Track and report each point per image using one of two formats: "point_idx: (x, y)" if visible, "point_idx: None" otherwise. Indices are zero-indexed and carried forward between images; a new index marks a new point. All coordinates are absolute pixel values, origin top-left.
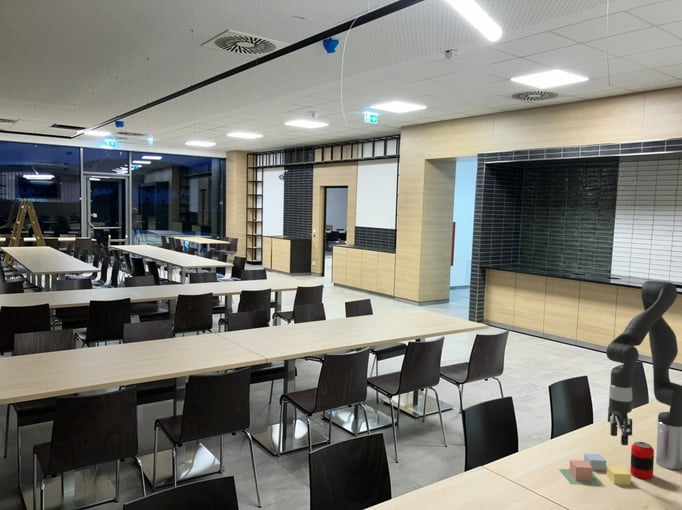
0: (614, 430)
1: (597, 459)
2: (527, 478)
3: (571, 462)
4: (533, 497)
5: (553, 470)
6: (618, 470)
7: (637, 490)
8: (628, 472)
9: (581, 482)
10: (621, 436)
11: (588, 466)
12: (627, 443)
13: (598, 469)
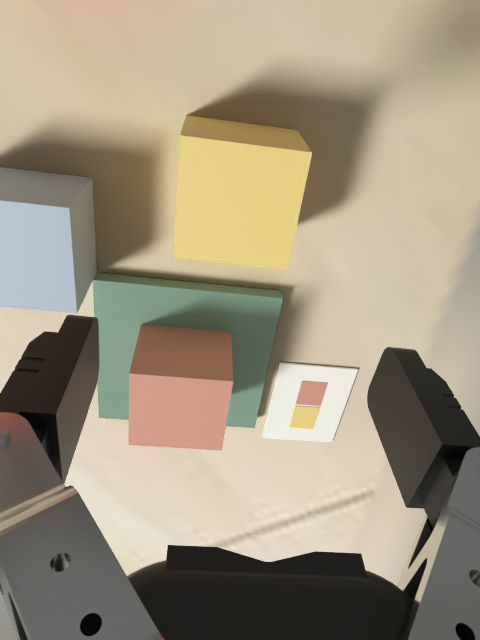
0: (78, 397)
1: (55, 261)
2: (175, 516)
3: (152, 442)
4: (313, 535)
5: (92, 422)
6: (240, 211)
7: (343, 108)
8: (279, 152)
9: (244, 383)
10: (403, 482)
11: (215, 394)
12: (438, 380)
13: (89, 233)
